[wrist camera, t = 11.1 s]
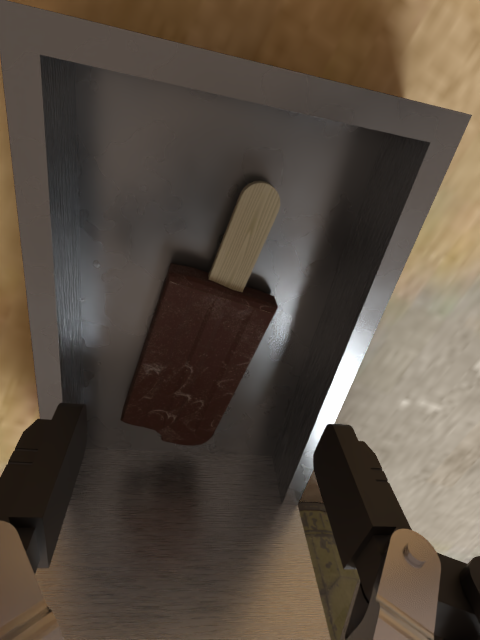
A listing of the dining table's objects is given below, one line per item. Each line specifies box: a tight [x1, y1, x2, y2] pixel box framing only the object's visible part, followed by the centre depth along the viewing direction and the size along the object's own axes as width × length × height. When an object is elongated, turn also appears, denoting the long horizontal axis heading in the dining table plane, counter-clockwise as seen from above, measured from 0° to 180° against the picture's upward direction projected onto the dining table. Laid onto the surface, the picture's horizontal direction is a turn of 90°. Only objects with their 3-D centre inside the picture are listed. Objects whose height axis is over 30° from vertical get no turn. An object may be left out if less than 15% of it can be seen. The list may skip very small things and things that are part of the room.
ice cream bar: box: [120, 181, 280, 446], centre depth 18 cm, size 5×2×15 cm
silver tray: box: [0, 0, 472, 640], centre depth 15 cm, size 24×14×12 cm, turn 169°
